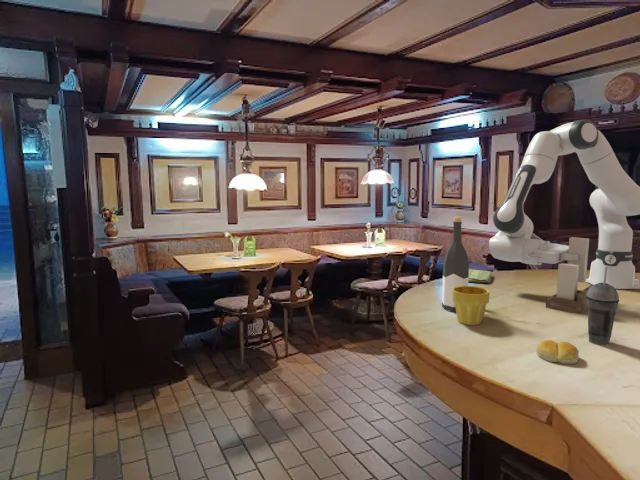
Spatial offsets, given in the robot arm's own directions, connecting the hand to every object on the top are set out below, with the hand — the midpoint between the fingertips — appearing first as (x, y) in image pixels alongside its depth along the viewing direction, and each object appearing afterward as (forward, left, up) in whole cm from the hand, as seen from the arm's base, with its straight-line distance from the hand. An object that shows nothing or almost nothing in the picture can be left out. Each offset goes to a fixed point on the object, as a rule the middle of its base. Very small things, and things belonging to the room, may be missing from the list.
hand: (580, 256), depth 146 cm
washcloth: (-18, -43, -17) cm, 50 cm away
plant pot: (+39, -19, -17) cm, 47 cm away
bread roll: (+50, +9, -17) cm, 54 cm away
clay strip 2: (+10, -1, -15) cm, 18 cm away
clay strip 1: (0, -1, -8) cm, 8 cm away
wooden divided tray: (+5, -1, -17) cm, 18 cm away
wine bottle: (+29, -29, -17) cm, 44 cm away
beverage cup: (+32, +13, -17) cm, 39 cm away
